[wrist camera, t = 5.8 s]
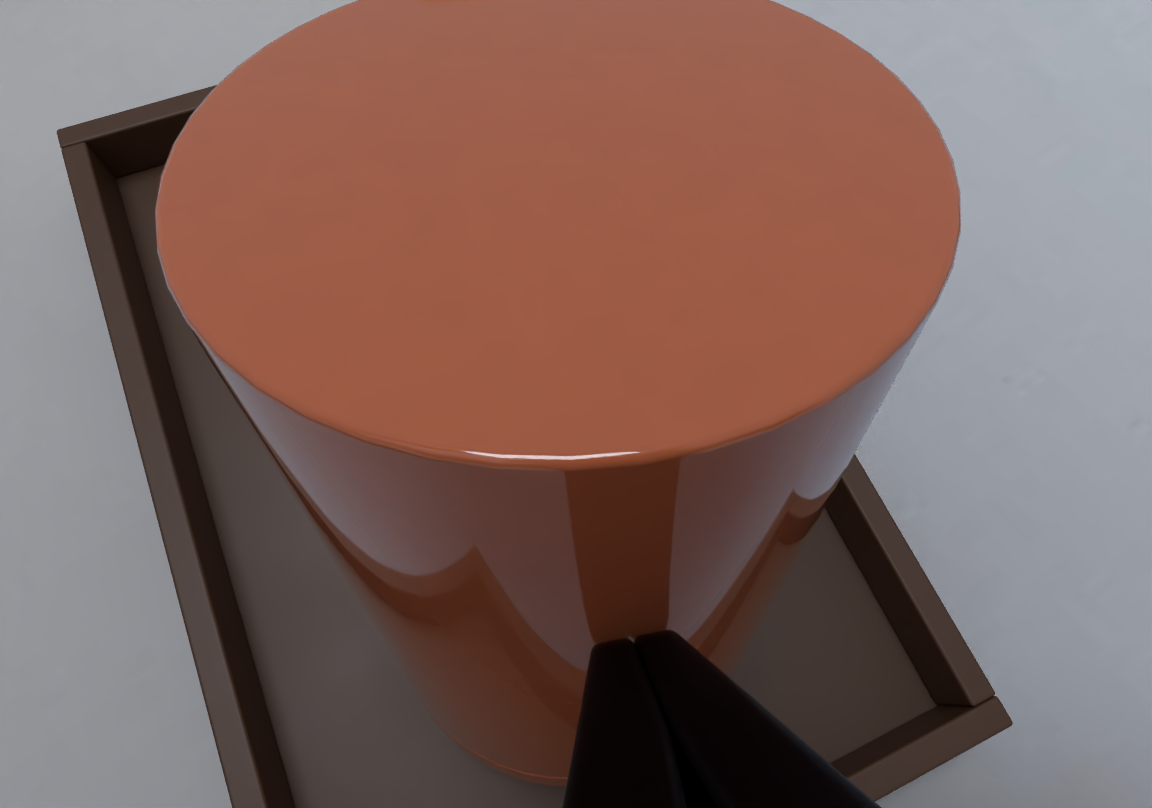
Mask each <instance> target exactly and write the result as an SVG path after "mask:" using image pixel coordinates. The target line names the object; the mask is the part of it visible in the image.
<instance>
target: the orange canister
mask: <svg viewBox="0 0 1152 808" xmlns="http://www.w3.org/2000/svg"><path fill="white" fill-rule="evenodd" d="M155 222H156V239H157V253H158V256H159V260H160V263H161V266H162V270H163V273H164V277H165V280H166V284H167V287H168V289H169V291H170V293H171V295H172V296H173V298H174V300H175V302H176V304H177V306H178V307H179V309H180V311H181V313H182V315H183V317H184V318H185V320H186V322H187V324H188V325H189V327H190V329H191V330H192V332H193V333H194V335H195V337H196V338H197V340H198V342H199V343H200V345H201V346H202V348H203V350H204V351H205V353H206V355H207V356H208V358H209V359H210V361H211V363H212V364H213V366H214V368H215V369H216V371H217V372H218V374H219V376H220V377H221V379H222V380H223V382H224V384H225V385H226V387H227V389H228V390H229V392H230V393H231V395H232V397H233V398H234V400H235V402H236V403H237V405H238V406H239V408H240V410H241V411H242V413H243V414H244V416H245V418H246V419H247V421H248V423H249V424H250V426H251V427H252V429H253V431H254V432H255V434H256V436H257V437H258V439H259V440H260V442H261V444H262V445H263V447H264V449H265V450H266V452H267V453H268V455H269V457H270V458H271V460H272V461H273V463H274V465H275V466H276V468H277V470H278V471H279V473H280V474H281V476H282V478H283V479H284V481H285V483H286V484H287V486H288V487H289V489H290V491H291V492H292V494H293V495H294V497H295V499H296V500H297V502H298V504H299V505H300V507H301V508H302V510H303V512H304V513H305V515H306V517H307V518H308V520H309V521H310V523H311V525H312V526H313V528H314V529H315V531H316V533H317V534H318V536H319V538H320V539H321V541H322V542H323V544H324V546H325V547H326V549H327V551H328V552H329V554H330V555H331V557H332V559H333V560H334V562H335V564H336V565H337V567H338V568H339V570H340V572H341V573H342V575H343V576H344V578H345V580H346V581H347V583H348V585H349V586H350V588H351V589H352V591H353V593H354V594H355V596H356V598H357V599H358V601H359V602H360V604H361V606H362V607H363V609H364V610H365V612H366V614H367V615H368V617H369V619H370V620H371V622H372V623H373V625H374V627H375V628H376V630H377V632H378V633H379V635H380V636H381V638H382V640H383V641H384V643H385V645H386V646H387V648H388V649H389V651H390V653H391V654H392V656H393V657H394V659H395V661H396V662H397V664H398V666H399V667H400V669H401V670H402V672H403V674H404V675H405V677H406V679H407V680H408V682H409V683H410V685H411V687H412V688H413V690H414V691H415V693H416V695H417V696H418V698H419V700H420V701H421V703H422V704H423V706H424V708H425V709H426V711H427V712H428V714H429V715H430V716H431V718H432V719H433V720H434V721H435V723H436V724H437V725H438V727H439V728H440V729H441V730H442V731H443V732H444V733H445V734H446V735H447V736H448V737H449V738H450V739H451V740H452V741H453V742H454V743H455V744H456V745H457V746H458V747H459V748H461V749H462V750H464V751H465V752H466V753H468V754H469V755H471V756H472V757H473V758H475V759H476V760H478V761H479V762H481V763H483V764H485V765H487V766H489V767H491V768H493V769H495V770H497V771H499V772H500V773H503V774H506V775H509V776H512V777H515V778H518V779H521V780H524V781H528V782H534V783H539V784H544V785H550V786H567V781H568V775H569V769H570V764H571V758H572V753H573V747H574V742H575V736H576V731H577V725H578V720H579V714H580V709H581V703H582V697H583V692H584V686H585V681H586V675H587V670H588V664H589V659H590V653H591V650H592V648H593V646H594V645H595V644H598V643H603V642H608V641H613V640H618V639H623V638H628V639H630V640H631V641H632V642H633V643H634V640H635V638H636V637H637V636H639V635H643V634H648V633H653V632H658V631H663V630H673V631H675V632H677V633H678V634H679V635H680V636H682V637H683V638H684V639H685V640H686V641H687V642H689V643H690V644H691V645H692V646H693V647H694V648H696V649H697V650H698V651H699V652H700V653H701V654H703V655H704V656H705V657H706V658H707V659H708V660H710V661H711V662H712V663H713V664H714V665H715V666H717V667H718V668H719V669H720V670H721V671H722V672H724V673H725V674H726V675H727V676H728V677H729V678H731V677H732V675H733V673H734V671H735V669H736V668H737V666H738V664H739V662H740V660H741V659H742V657H743V655H744V653H745V651H746V649H747V648H748V646H749V644H750V642H751V640H752V639H753V637H754V635H755V633H756V631H757V629H758V628H759V626H760V624H761V622H762V620H763V619H764V617H765V615H766V613H767V611H768V609H769V608H770V606H771V604H772V602H773V600H774V599H775V597H776V595H777V593H778V591H779V589H780V588H781V586H782V584H783V582H784V580H785V579H786V577H787V575H788V573H789V571H790V570H791V568H792V566H793V564H794V562H795V560H796V559H797V557H798V555H799V553H800V551H801V550H802V548H803V546H804V544H805V542H806V540H807V539H808V537H809V535H810V533H811V531H812V530H813V528H814V526H815V524H816V522H817V520H818V519H819V517H820V515H821V513H822V511H823V510H824V508H825V506H826V504H827V502H828V500H829V499H830V497H831V495H832V493H833V491H834V490H835V488H836V486H837V484H838V482H839V480H840V479H841V477H842V475H843V473H844V471H845V470H846V468H847V466H848V464H849V462H850V460H851V459H852V457H853V455H854V453H855V451H856V450H857V448H858V446H859V444H860V442H861V440H862V439H863V437H864V435H865V433H866V431H867V430H868V428H869V426H870V424H871V422H872V420H873V419H874V417H875V415H876V413H877V411H878V410H879V408H880V406H881V404H882V402H883V400H884V399H885V397H886V395H887V393H888V391H889V390H890V388H891V386H892V384H893V382H894V380H895V379H896V377H897V375H898V373H899V371H900V370H901V368H902V366H903V364H904V362H905V360H906V359H907V357H908V355H909V353H910V351H911V350H912V348H913V346H914V344H915V342H916V340H917V339H918V337H919V335H920V333H921V331H922V330H923V328H924V326H925V324H926V322H927V320H928V319H929V317H930V315H931V313H932V311H933V310H934V308H935V306H936V304H937V302H938V300H939V297H940V295H941V293H942V291H943V289H944V287H945V284H946V282H947V280H948V278H949V276H950V274H951V271H952V269H953V265H954V261H955V256H956V252H957V247H958V242H959V238H960V233H961V225H960V189H959V185H958V180H957V176H956V172H955V167H954V163H953V159H952V157H951V154H950V152H949V150H948V148H947V146H946V143H945V141H944V139H943V137H942V134H941V132H940V130H939V128H938V127H937V125H936V124H935V122H934V121H933V119H932V118H931V116H930V115H929V113H928V112H927V110H926V109H925V107H924V106H923V104H922V103H921V102H920V100H919V99H918V98H917V97H916V96H915V95H914V94H913V93H912V92H911V91H910V89H909V88H908V87H907V86H906V85H905V84H904V83H903V82H902V81H901V80H900V79H899V77H898V76H896V75H895V74H894V73H893V72H892V71H891V70H889V69H888V68H887V67H886V66H885V65H883V64H882V63H881V62H880V61H879V60H878V59H876V58H875V57H874V56H873V55H872V54H870V53H869V52H867V51H866V50H864V49H863V48H861V47H860V46H858V45H857V44H855V43H854V42H852V41H851V40H849V39H848V38H847V37H845V36H844V35H842V34H840V33H838V32H837V31H835V30H833V29H831V28H829V27H827V26H825V25H824V24H822V23H820V22H818V21H816V20H814V19H813V18H811V17H809V16H806V15H804V14H802V13H799V12H797V11H795V10H792V9H790V8H788V7H786V6H783V5H781V4H779V3H776V2H773V1H771V0H357V1H355V2H352V3H349V4H347V5H344V6H342V7H339V8H336V9H334V10H331V11H329V12H327V13H325V14H323V15H321V16H319V17H317V18H315V19H313V20H310V21H308V22H306V23H304V24H302V25H300V26H298V27H296V28H295V29H293V30H291V31H289V32H288V33H286V34H284V35H283V36H281V37H279V38H278V39H276V40H274V41H273V42H271V43H269V44H268V45H266V46H265V47H263V48H262V49H261V50H259V51H258V52H256V53H255V54H254V55H252V56H251V57H250V58H248V59H247V60H246V61H244V62H243V63H241V64H240V65H239V66H237V67H236V68H235V69H234V70H233V71H232V72H231V73H230V74H229V75H228V76H227V77H225V78H224V79H223V80H222V81H221V82H220V83H219V84H218V85H217V86H216V87H215V88H214V89H213V90H211V92H210V93H209V94H208V95H207V97H206V98H205V99H204V100H203V101H202V103H201V104H200V105H199V106H198V107H197V109H196V110H195V111H194V112H193V113H192V115H191V116H190V117H189V119H188V120H187V122H186V124H185V125H184V127H183V129H182V130H181V132H180V134H179V135H178V137H177V139H176V140H175V142H174V144H173V145H172V148H171V151H170V153H169V156H168V158H167V161H166V164H165V166H164V169H163V172H162V174H161V177H160V183H159V189H158V195H157V201H156V208H155Z"/></svg>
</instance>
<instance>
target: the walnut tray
mask: <svg viewBox="0 0 1152 808" xmlns="http://www.w3.org/2000/svg"><path fill="white" fill-rule="evenodd" d="M216 86H217V85H215V86H212V87H208V88H205V89H201V90H197V91H194V92H190V93H187V94H183V95H180V96H176V97H173V98H169V99H166V100H162V101H158V102H155V103H151V104H148V105H144V106H141V107H137V108H134V109H130V110H127V111H123V112H119V113H116V114H112V115H109V116H105V117H102V118H98V119H95V120H91V121H87V122H84V123H80V124H77V125H73V126H70V127H66V128H63V129H59V130H57V135H58V139H59V143H60V147H61V148H62V154H63V158H64V162H65V166H66V170H67V174H68V177H69V181H70V185H71V189H72V193H73V197H74V200H75V204H76V208H77V212H78V216H79V220H80V223H81V227H82V231H83V235H84V239H85V243H86V247H87V250H88V254H89V258H90V262H91V266H92V270H93V273H94V277H95V281H96V285H97V289H98V293H99V297H100V300H101V304H102V308H103V312H104V316H105V320H106V323H107V327H108V331H109V335H110V339H111V343H112V346H113V350H114V354H115V358H116V362H117V366H118V370H119V373H120V377H121V381H122V385H123V389H124V393H125V396H126V400H127V404H128V408H129V412H130V416H131V419H132V423H133V427H134V431H135V435H136V439H137V443H138V446H139V450H140V454H141V458H142V462H143V466H144V469H145V473H146V477H147V481H148V485H149V489H150V493H151V496H152V500H153V504H154V508H155V512H156V516H157V519H158V523H159V527H160V531H161V535H162V539H163V542H164V546H165V550H166V554H167V558H168V562H169V566H170V569H171V573H172V577H173V581H174V585H175V589H176V592H177V596H178V600H179V604H180V608H181V612H182V616H183V619H184V623H185V627H186V631H187V635H188V639H189V642H190V646H191V650H192V654H193V658H194V662H195V665H196V669H197V673H198V677H199V681H200V685H201V689H202V692H203V696H204V700H205V704H206V708H207V712H208V715H209V719H210V723H211V727H212V731H213V735H214V738H215V742H216V746H217V750H218V754H219V758H220V762H221V765H222V769H223V773H224V777H225V781H226V785H227V788H228V792H229V796H230V800H231V804H232V808H563V803H564V797H565V792H566V786H550V785H544V784H539V783H534V782H528V781H524V780H521V779H518V778H515V777H512V776H509V775H506V774H503V773H500V772H499V771H497V770H495V769H493V768H491V767H489V766H487V765H485V764H483V763H481V762H479V761H478V760H476V759H475V758H473V757H472V756H471V755H469V754H468V753H466V752H465V751H464V750H462V749H461V748H459V747H458V746H457V745H456V744H455V743H454V742H453V741H452V740H451V739H450V738H449V737H448V736H447V735H446V734H445V733H444V732H443V731H442V730H441V729H440V728H439V727H438V725H437V724H436V723H435V721H434V720H433V719H432V718H431V716H430V715H429V714H428V712H427V711H426V709H425V708H424V706H423V704H422V703H421V701H420V700H419V698H418V696H417V695H416V693H415V691H414V690H413V688H412V687H411V685H410V683H409V682H408V680H407V679H406V677H405V675H404V674H403V672H402V670H401V669H400V667H399V666H398V664H397V662H396V661H395V659H394V657H393V656H392V654H391V653H390V651H389V649H388V648H387V646H386V645H385V643H384V641H383V640H382V638H381V636H380V635H379V633H378V632H377V630H376V628H375V627H374V625H373V623H372V622H371V620H370V619H369V617H368V615H367V614H366V612H365V610H364V609H363V607H362V606H361V604H360V602H359V601H358V599H357V598H356V596H355V594H354V593H353V591H352V589H351V588H350V586H349V585H348V583H347V581H346V580H345V578H344V576H343V575H342V573H341V572H340V570H339V568H338V567H337V565H336V564H335V562H334V560H333V559H332V557H331V555H330V554H329V552H328V551H327V549H326V547H325V546H324V544H323V542H322V541H321V539H320V538H319V536H318V534H317V533H316V531H315V529H314V528H313V526H312V525H311V523H310V521H309V520H308V518H307V517H306V515H305V513H304V512H303V510H302V508H301V507H300V505H299V504H298V502H297V500H296V499H295V497H294V495H293V494H292V492H291V491H290V489H289V487H288V486H287V484H286V483H285V481H284V479H283V478H282V476H281V474H280V473H279V471H278V470H277V468H276V466H275V465H274V463H273V461H272V460H271V458H270V457H269V455H268V453H267V452H266V450H265V449H264V447H263V445H262V444H261V442H260V440H259V439H258V437H257V436H256V434H255V432H254V431H253V429H252V427H251V426H250V424H249V423H248V421H247V419H246V418H245V416H244V414H243V413H242V411H241V410H240V408H239V406H238V405H237V403H236V402H235V400H234V398H233V397H232V395H231V393H230V392H229V390H228V389H227V387H226V385H225V384H224V382H223V380H222V379H221V377H220V376H219V374H218V372H217V371H216V369H215V368H214V366H213V364H212V363H211V361H210V359H209V358H208V356H207V355H206V353H205V351H204V350H203V348H202V346H201V345H200V343H199V342H198V340H197V338H196V337H195V335H194V333H193V332H192V330H191V329H190V327H189V325H188V324H187V322H186V320H185V318H184V317H183V315H182V313H181V311H180V309H179V307H178V306H177V304H176V302H175V300H174V298H173V296H172V295H171V293H170V291H169V289H168V287H167V284H166V280H165V277H164V273H163V270H162V266H161V263H160V260H159V256H158V253H157V239H156V222H155V208H156V201H157V195H158V189H159V183H160V177H161V174H162V172H163V169H164V166H165V164H166V161H167V158H168V156H169V153H170V151H171V148H172V145H173V144H174V142H175V140H176V139H177V137H178V135H179V134H180V132H181V130H182V129H183V127H184V125H185V124H186V122H187V120H188V119H189V117H190V116H191V115H192V113H193V112H194V111H195V110H196V109H197V107H198V106H199V105H200V104H201V103H202V101H203V100H204V99H205V98H206V97H207V95H208V94H209V93H210V92H211V90H213V89H214V88H215V87H216ZM731 679H732V680H733V681H734V682H735V683H736V684H738V685H739V686H740V687H741V688H742V689H743V690H745V691H746V692H747V693H748V694H749V695H750V696H752V697H753V698H754V699H755V700H756V701H757V702H759V703H760V704H761V705H762V706H763V707H764V708H766V709H767V710H768V711H769V712H770V713H771V714H773V715H774V716H775V717H776V718H777V719H778V720H780V721H781V722H782V723H783V724H784V725H785V726H787V727H788V728H789V729H790V730H791V731H792V732H794V733H795V734H796V735H797V736H798V737H799V738H801V739H802V740H803V741H804V742H805V743H806V744H808V745H809V746H810V747H811V748H812V749H813V750H815V751H816V752H817V753H818V754H819V755H820V756H822V757H823V758H824V759H825V760H826V761H827V762H829V763H830V764H831V765H832V766H833V767H834V768H836V769H837V770H838V771H839V772H840V773H841V774H843V775H844V776H845V777H846V778H847V779H848V780H850V781H851V782H852V783H853V784H854V785H855V786H857V787H858V788H859V789H860V790H861V791H862V792H864V793H865V794H866V795H867V796H868V797H869V798H871V799H872V800H873V801H874V802H875V801H877V800H879V799H880V798H882V797H884V796H886V795H888V794H889V793H891V792H893V791H895V790H897V789H898V788H900V787H902V786H904V785H906V784H907V783H909V782H911V781H913V780H915V779H916V778H918V777H920V776H922V775H924V774H925V773H927V772H929V771H931V770H933V769H934V768H936V767H938V766H940V765H942V764H943V763H945V762H947V761H949V760H951V759H952V758H954V757H956V756H958V755H960V754H961V753H963V752H965V751H967V750H969V749H970V748H972V747H974V746H976V745H978V744H979V743H981V742H983V741H985V740H987V739H988V738H990V737H992V736H994V735H996V734H997V733H999V732H1001V731H1003V730H1005V729H1006V728H1008V727H1010V726H1011V725H1012V724H1013V723H1012V720H1011V719H1010V717H1009V715H1008V714H1007V712H1006V710H1005V708H1004V707H1003V705H1002V703H1001V702H1000V700H999V699H998V698H997V697H996V696H994V695H995V692H994V690H993V688H992V687H991V685H990V683H989V681H988V680H987V678H986V676H985V675H984V673H983V671H982V670H981V668H980V666H979V664H978V663H977V661H976V659H975V658H974V656H973V654H972V653H971V651H970V649H969V647H968V646H967V644H966V642H965V641H964V639H963V637H962V636H961V634H960V632H959V630H958V629H957V627H956V625H955V624H954V622H953V620H952V619H951V617H950V615H949V613H948V612H947V610H946V608H945V607H944V605H943V603H942V602H941V600H940V598H939V596H938V595H937V593H936V591H935V590H934V588H933V586H932V585H931V583H930V581H929V579H928V578H927V576H926V574H925V573H924V571H923V569H922V568H921V566H920V564H919V562H918V561H917V559H916V557H915V556H914V554H913V552H912V551H911V549H910V547H909V545H908V544H907V542H906V540H905V539H904V537H903V535H902V534H901V532H900V530H899V528H898V527H897V525H896V523H895V522H894V520H893V518H892V517H891V515H890V513H889V511H888V510H887V508H886V506H885V505H884V503H883V501H882V500H881V498H880V496H879V494H878V493H877V491H876V489H875V488H874V486H873V484H872V483H871V481H870V479H869V477H868V476H867V474H866V472H865V471H864V469H863V467H862V466H861V464H860V462H859V460H858V459H857V457H856V455H855V454H854V455H853V457H852V459H851V460H850V462H849V464H848V466H847V468H846V470H845V471H844V473H843V475H842V477H841V479H840V480H839V482H838V484H837V486H836V488H835V490H834V491H833V493H832V495H831V497H830V499H829V500H828V502H827V504H826V506H825V508H824V510H823V511H822V513H821V515H820V517H819V519H818V520H817V522H816V524H815V526H814V528H813V530H812V531H811V533H810V535H809V537H808V539H807V540H806V542H805V544H804V546H803V548H802V550H801V551H800V553H799V555H798V557H797V559H796V560H795V562H794V564H793V566H792V568H791V570H790V571H789V573H788V575H787V577H786V579H785V580H784V582H783V584H782V586H781V588H780V589H779V591H778V593H777V595H776V597H775V599H774V600H773V602H772V604H771V606H770V608H769V609H768V611H767V613H766V615H765V617H764V619H763V620H762V622H761V624H760V626H759V628H758V629H757V631H756V633H755V635H754V637H753V639H752V640H751V642H750V644H749V646H748V648H747V649H746V651H745V653H744V655H743V657H742V659H741V660H740V662H739V664H738V666H737V668H736V669H735V671H734V673H733V675H732V677H731Z"/></svg>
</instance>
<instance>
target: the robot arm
mask: <svg viewBox="0 0 1152 808" xmlns="http://www.w3.org/2000/svg"><path fill="white" fill-rule="evenodd" d="M563 808H881V807H880V806H879V805H878V804H876V803H875V802H874V801H873V800H872V799H871V798H869V797H868V796H867V795H866V794H865V793H864V792H862V791H861V790H860V789H859V788H858V787H857V786H855V785H854V784H853V783H852V782H851V781H850V780H848V779H847V778H846V777H845V776H844V775H843V774H841V773H840V772H839V771H838V770H837V769H836V768H834V767H833V766H832V765H831V764H830V763H829V762H827V761H826V760H825V759H824V758H823V757H822V756H820V755H819V754H818V753H817V752H816V751H815V750H813V749H812V748H811V747H810V746H809V745H808V744H806V743H805V742H804V741H803V740H802V739H801V738H799V737H798V736H797V735H796V734H795V733H794V732H792V731H791V730H790V729H789V728H788V727H787V726H785V725H784V724H783V723H782V722H781V721H780V720H778V719H777V718H776V717H775V716H774V715H773V714H771V713H770V712H769V711H768V710H767V709H766V708H764V707H763V706H762V705H761V704H760V703H759V702H757V701H756V700H755V699H754V698H753V697H752V696H750V695H749V694H748V693H747V692H746V691H745V690H743V689H742V688H741V687H740V686H739V685H738V684H736V683H735V682H734V681H733V680H732V679H731V678H729V677H728V676H727V675H726V674H725V673H724V672H722V671H721V670H720V669H719V668H718V667H717V666H715V665H714V664H713V663H712V662H711V661H710V660H708V659H707V658H706V657H705V656H704V655H703V654H701V653H700V652H699V651H698V650H697V649H696V648H694V647H693V646H692V645H691V644H690V643H689V642H687V641H686V640H685V639H684V638H683V637H682V636H680V635H679V634H678V633H677V632H675V631H673V630H663V631H658V632H653V633H648V634H643V635H639V636H637V637H636V638H635V640H634V643H633V642H632V641H631V640H630V639H628V638H623V639H618V640H613V641H608V642H603V643H598V644H595V645H594V646H593V648H592V650H591V653H590V659H589V664H588V670H587V675H586V681H585V686H584V692H583V697H582V703H581V709H580V714H579V720H578V725H577V731H576V736H575V742H574V747H573V753H572V758H571V764H570V769H569V775H568V781H567V786H566V792H565V797H564V803H563Z"/></svg>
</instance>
